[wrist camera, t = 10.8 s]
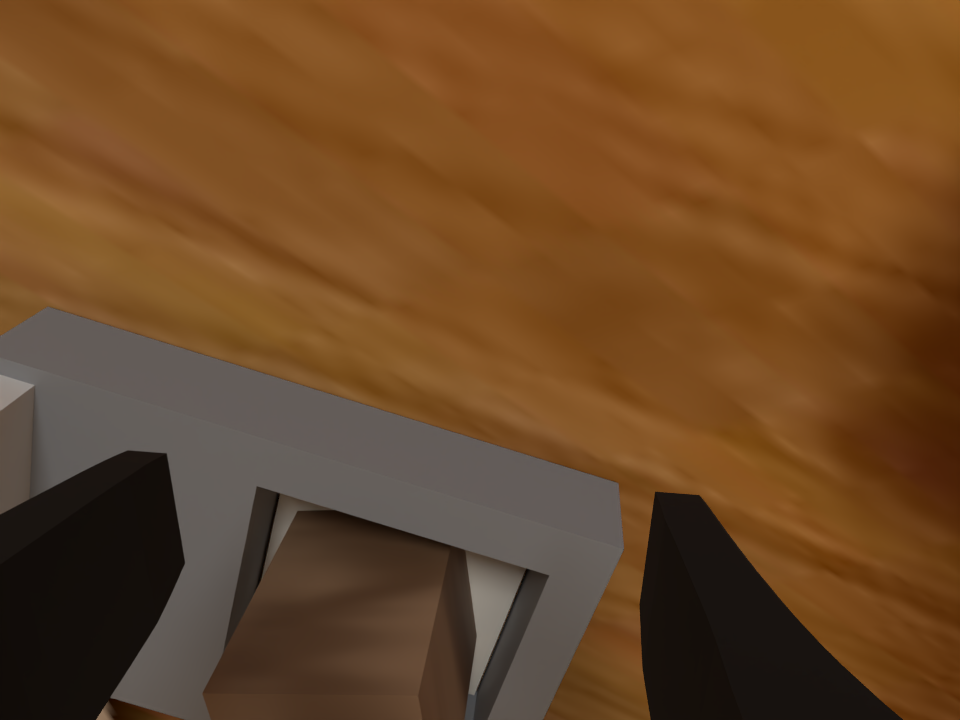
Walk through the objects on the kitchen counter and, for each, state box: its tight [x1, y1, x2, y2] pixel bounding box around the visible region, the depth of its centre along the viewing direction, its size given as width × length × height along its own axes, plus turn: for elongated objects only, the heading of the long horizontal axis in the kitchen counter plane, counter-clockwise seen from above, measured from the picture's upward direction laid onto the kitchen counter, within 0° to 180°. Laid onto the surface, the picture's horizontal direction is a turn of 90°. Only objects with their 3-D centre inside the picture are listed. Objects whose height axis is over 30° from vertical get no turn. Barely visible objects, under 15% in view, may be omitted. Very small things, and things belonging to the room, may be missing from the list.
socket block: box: [0, 307, 624, 720], centre depth 21 cm, size 18×11×10 cm, turn 74°
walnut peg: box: [202, 510, 477, 720], centre depth 22 cm, size 5×5×7 cm
